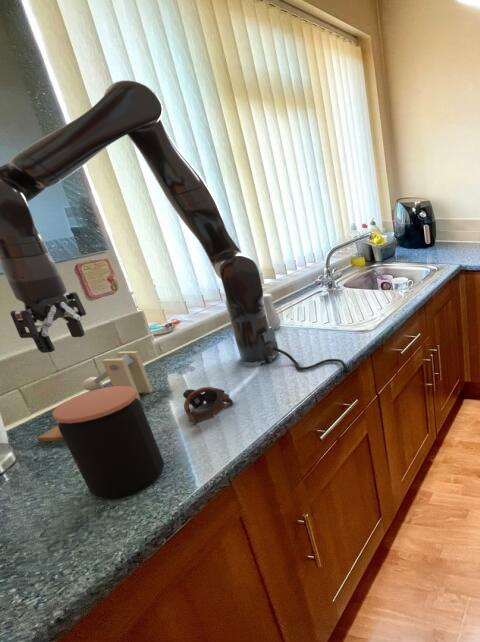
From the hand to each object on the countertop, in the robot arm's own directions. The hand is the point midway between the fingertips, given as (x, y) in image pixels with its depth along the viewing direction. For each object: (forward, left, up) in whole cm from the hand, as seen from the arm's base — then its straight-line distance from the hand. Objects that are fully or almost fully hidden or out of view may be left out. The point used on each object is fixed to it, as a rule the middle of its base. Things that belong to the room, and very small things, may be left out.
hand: (64, 343), depth 92 cm
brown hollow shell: (-29, +3, -18) cm, 35 cm away
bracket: (-7, -4, -18) cm, 20 cm away
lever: (-3, -4, -12) cm, 13 cm away
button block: (-6, +9, -18) cm, 21 cm away
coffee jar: (-28, +25, -18) cm, 42 cm away
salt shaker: (-18, -51, -18) cm, 57 cm away
